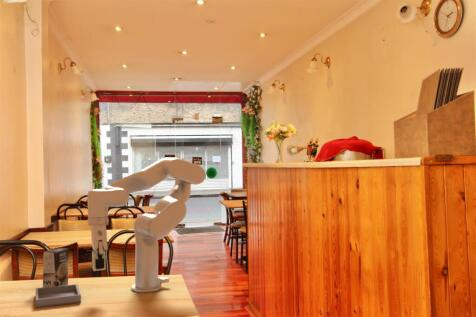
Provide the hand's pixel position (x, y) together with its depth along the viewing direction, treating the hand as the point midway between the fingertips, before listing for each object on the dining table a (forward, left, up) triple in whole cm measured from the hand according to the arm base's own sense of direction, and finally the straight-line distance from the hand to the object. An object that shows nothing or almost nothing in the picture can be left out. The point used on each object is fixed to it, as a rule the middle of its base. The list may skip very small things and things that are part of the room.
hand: (99, 266), depth 175 cm
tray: (+15, -5, -12) cm, 20 cm away
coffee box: (+15, -21, -13) cm, 28 cm away
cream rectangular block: (0, 0, -1) cm, 1 cm away
